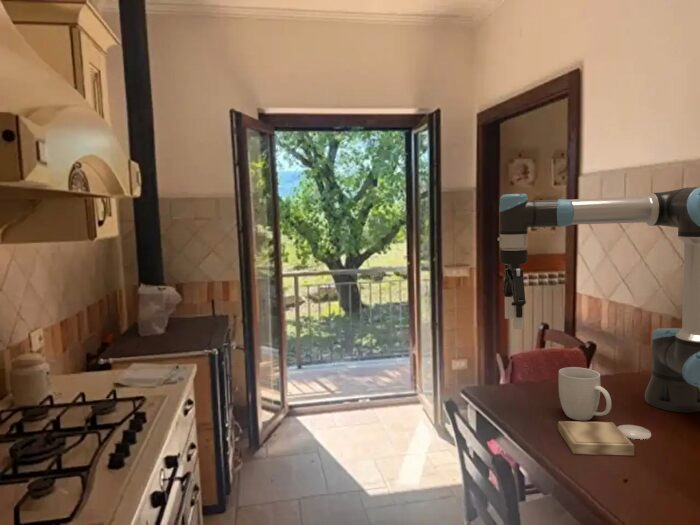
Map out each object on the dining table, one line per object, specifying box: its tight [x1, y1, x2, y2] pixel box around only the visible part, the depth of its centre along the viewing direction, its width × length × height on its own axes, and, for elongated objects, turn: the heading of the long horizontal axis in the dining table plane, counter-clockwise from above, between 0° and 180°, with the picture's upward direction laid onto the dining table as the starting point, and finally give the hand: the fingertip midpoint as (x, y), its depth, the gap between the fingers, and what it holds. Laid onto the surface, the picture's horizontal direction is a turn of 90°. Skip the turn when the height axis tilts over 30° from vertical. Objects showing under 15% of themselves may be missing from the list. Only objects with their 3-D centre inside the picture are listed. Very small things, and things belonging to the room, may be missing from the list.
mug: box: [558, 366, 612, 422], centre depth 147 cm, size 15×11×13 cm
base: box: [557, 420, 635, 456], centre depth 132 cm, size 14×14×3 cm
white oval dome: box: [617, 424, 652, 441], centre depth 137 cm, size 8×8×1 cm
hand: (513, 323), depth 146 cm, fingers open, 13 cm apart
